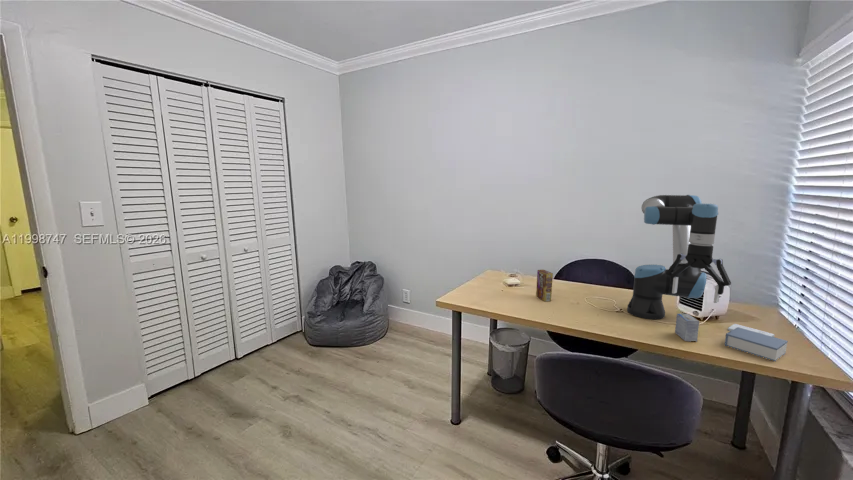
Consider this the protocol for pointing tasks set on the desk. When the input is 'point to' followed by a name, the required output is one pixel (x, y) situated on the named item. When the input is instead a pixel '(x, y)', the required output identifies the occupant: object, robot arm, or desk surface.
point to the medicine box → (687, 327)
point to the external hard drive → (749, 329)
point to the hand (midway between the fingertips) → (694, 297)
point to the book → (756, 343)
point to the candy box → (544, 285)
